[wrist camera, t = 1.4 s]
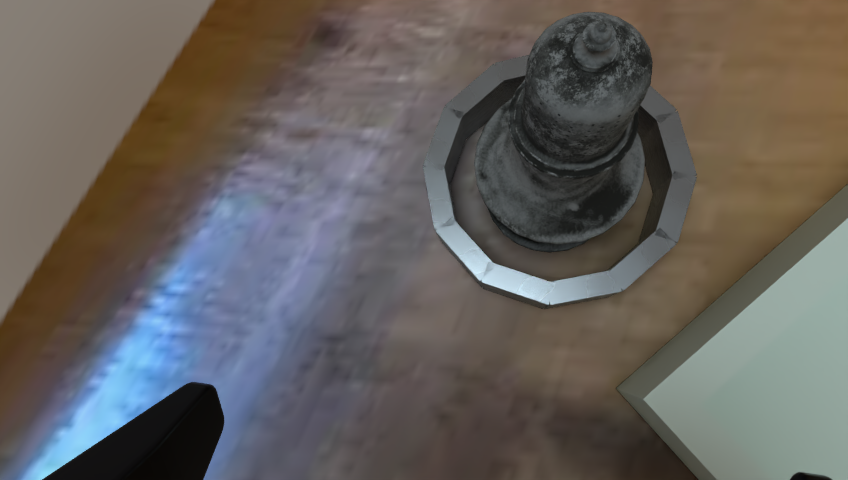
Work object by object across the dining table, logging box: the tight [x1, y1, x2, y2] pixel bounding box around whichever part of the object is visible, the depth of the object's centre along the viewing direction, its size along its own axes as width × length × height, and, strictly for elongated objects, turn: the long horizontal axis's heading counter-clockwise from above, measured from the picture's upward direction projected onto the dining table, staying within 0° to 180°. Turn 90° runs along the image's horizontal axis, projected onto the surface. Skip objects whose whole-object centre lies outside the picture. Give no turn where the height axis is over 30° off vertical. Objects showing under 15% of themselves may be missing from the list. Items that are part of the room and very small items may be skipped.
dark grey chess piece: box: [474, 12, 653, 252], centre depth 17 cm, size 6×6×12 cm
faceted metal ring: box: [423, 55, 697, 309], centre depth 21 cm, size 10×10×2 cm
